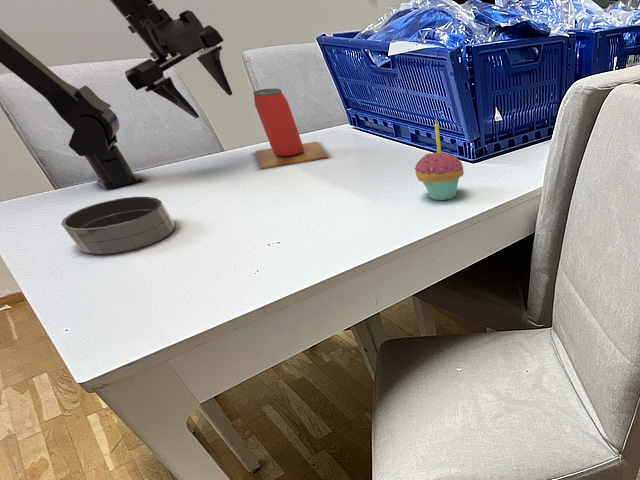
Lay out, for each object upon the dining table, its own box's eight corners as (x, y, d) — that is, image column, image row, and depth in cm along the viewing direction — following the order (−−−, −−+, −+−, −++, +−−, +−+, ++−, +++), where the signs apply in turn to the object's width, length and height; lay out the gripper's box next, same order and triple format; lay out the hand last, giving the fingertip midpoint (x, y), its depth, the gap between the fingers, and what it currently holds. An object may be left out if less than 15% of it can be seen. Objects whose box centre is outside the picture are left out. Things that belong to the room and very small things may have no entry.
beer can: (311, 150, 104) (290, 88, 95) (291, 158, 99) (268, 94, 91) (287, 148, 105) (265, 87, 97) (268, 156, 101) (242, 93, 92)
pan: (70, 240, 72) (51, 215, 69) (158, 214, 79) (144, 190, 76) (95, 263, 65) (75, 237, 63) (188, 233, 72) (174, 208, 70)
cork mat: (261, 169, 96) (260, 167, 95) (255, 152, 105) (254, 151, 104) (328, 158, 100) (327, 156, 100) (317, 143, 109) (316, 141, 109)
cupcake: (428, 186, 86) (416, 114, 77) (471, 188, 85) (463, 115, 76) (414, 203, 80) (398, 127, 71) (460, 205, 79) (449, 128, 70)
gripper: (113, 21, 70) (199, 125, 82) (201, -23, 78) (268, 77, 90) (87, 37, 76) (172, 132, 87) (172, -6, 84) (239, 86, 96)
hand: (214, 106), depth 90 cm, fingers open, 9 cm apart
